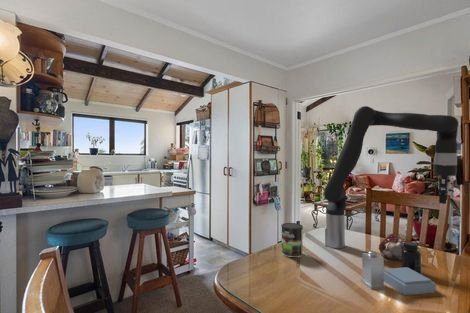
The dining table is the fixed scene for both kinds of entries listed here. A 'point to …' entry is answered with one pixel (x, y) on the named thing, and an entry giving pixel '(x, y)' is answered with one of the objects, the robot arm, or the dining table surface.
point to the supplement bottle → (411, 257)
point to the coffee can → (292, 239)
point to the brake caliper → (391, 248)
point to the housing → (373, 270)
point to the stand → (408, 281)
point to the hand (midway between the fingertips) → (443, 201)
